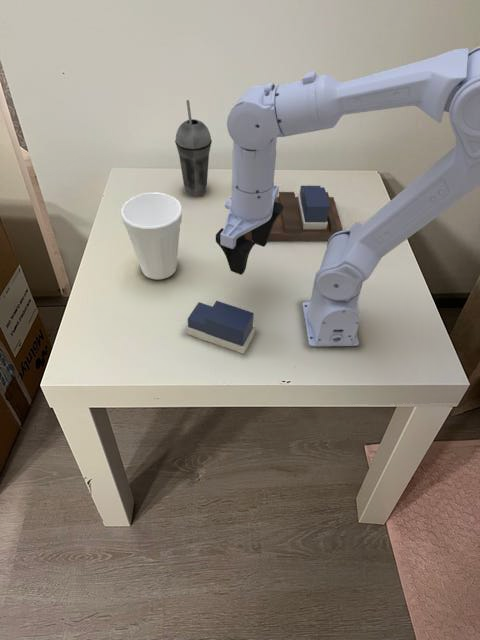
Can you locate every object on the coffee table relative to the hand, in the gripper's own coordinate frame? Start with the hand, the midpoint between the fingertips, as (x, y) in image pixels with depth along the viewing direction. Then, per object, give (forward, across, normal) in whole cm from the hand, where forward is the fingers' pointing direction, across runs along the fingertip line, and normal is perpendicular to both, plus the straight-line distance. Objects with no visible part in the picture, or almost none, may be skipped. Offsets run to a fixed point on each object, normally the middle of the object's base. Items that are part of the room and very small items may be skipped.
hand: (248, 257), depth 77 cm
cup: (+10, +1, -17) cm, 20 cm away
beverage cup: (+10, -24, -25) cm, 36 cm away
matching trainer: (+8, -26, +1) cm, 27 cm away
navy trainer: (+10, +9, 0) cm, 13 cm away
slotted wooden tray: (+10, -24, -3) cm, 26 cm away
